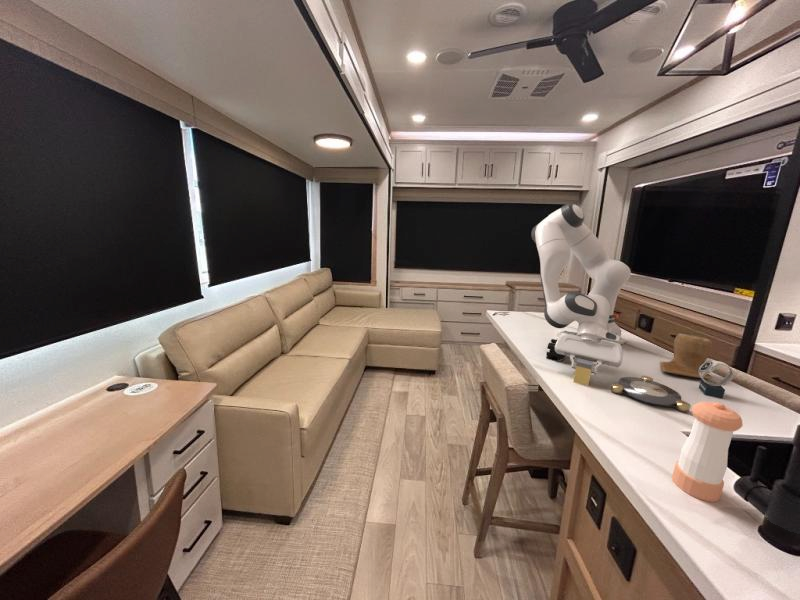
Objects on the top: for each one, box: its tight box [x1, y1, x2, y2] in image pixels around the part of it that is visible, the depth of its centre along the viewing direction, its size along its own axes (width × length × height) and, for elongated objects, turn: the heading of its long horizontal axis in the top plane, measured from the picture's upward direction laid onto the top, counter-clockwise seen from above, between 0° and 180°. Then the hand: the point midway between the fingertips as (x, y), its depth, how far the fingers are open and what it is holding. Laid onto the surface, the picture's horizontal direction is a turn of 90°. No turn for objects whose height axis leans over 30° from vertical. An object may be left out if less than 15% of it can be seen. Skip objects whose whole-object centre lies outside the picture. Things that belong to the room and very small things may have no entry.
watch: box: [698, 360, 735, 399], centre depth 101 cm, size 6×8×11 cm
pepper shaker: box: [671, 401, 744, 503], centre depth 62 cm, size 7×7×19 cm
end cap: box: [545, 338, 567, 362], centre depth 127 cm, size 10×7×7 cm
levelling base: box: [610, 375, 691, 413], centre depth 98 cm, size 19×19×2 cm
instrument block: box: [573, 358, 594, 387], centre depth 107 cm, size 4×4×8 cm
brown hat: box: [659, 333, 713, 380], centre depth 115 cm, size 15×12×15 cm
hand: (583, 370), depth 106 cm, fingers closed on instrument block, 4 cm apart
